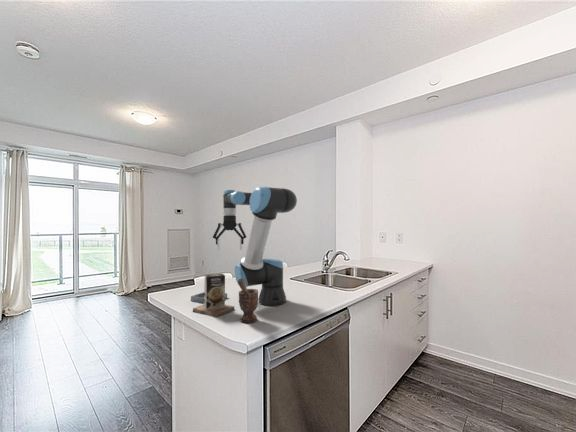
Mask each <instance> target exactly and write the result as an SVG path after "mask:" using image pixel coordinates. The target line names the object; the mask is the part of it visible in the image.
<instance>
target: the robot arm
mask: <svg viewBox="0 0 576 432" xmlns="http://www.w3.org/2000/svg"><path fill="white" fill-rule="evenodd" d="M222 197H223V199H222V200H223V213H222V214H223V221H222V223H221V222H218V223H217V227H216V229H215V232H214V234H213V235H212V238H213V239H215V245H217V251H220V250H221V247H220V246H221V240H220V237H221V236H222V235H223V234H224V232H225V231H234V232H235V233H236V235H237V236H238V237H239V238H240V239H239V251H242V250H243V245H244V239H246V238H247V235H246V232H245V231H244V229H243V227H242V223H241V222H239V223H237V216H236V214H237V205H239V206H249V210H250V211H251V214H252V215H253V221H252V225H251V230H250V233H249V239H248V243H247V247H246V251H245V255H244V257H242V258H241V260H240V263H237V264H235V266H234V277H235V280H236V283H237V285H238V286H239V284H238V280H239V279H241V278H242V279H244V280H245V283H246V288H248V287H252V286H258V285H261V290H260V292H259V294H258V304H260V305H262V306H267V307H268V306H269V307H270V306H271V307H272V306H280V305H284V304H285V303H287V296H286V292H285V290H284V265H283V261H282V260H280V259H275V258H263V255H264V252H265V248H266V246H267V242H268V237H269V234H270V229H271V225H272V222H273V221H274V220H276V218H277V216H278V213H279V214H286V213H289V212H291V211H293V210H294V209H295V207H296V206H297V203H298V199H297V196H296V194H295V192H294V191H292V190H291V189H288V188H284V187H283V188H282V187H281V188H280V187H268V186H259V187H256V188H254V189H253V190H252V192H244V191H243V192H242V191H238V190H237V191H236V190H234V189H224V191H223V195H222ZM222 227H223V228H222ZM236 227H238V228H239V230H240V232H239V230H238V229H237V228H236ZM221 228H222V230H221ZM220 230H221V231H220ZM219 231H220V232H219Z"/></svg>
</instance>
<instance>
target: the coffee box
mask: <svg viewBox="0 0 576 432" xmlns="http://www.w3.org/2000/svg"><path fill="white" fill-rule="evenodd" d="M203 288H204V291H203V292H204V297H203V298H204V303H203V305H204V307H205V309H206V310H213V309H220V308H225V305H226V298H225V293H226V275H225V274H223V273H214V274H213V273H211V274H204V287H203Z"/></svg>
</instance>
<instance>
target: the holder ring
mask: <svg viewBox="0 0 576 432" xmlns="http://www.w3.org/2000/svg"><path fill="white" fill-rule="evenodd" d="M227 298H228V293H226V292H225V299H227ZM190 301H191V302H195V303H199V304H200V303H201V304H204V291H203V292H200V293H197V294H194V295H191V296H190Z"/></svg>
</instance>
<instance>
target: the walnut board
mask: <svg viewBox="0 0 576 432" xmlns="http://www.w3.org/2000/svg"><path fill="white" fill-rule="evenodd" d="M234 310H235V306H234V305H228V304H225V308H220V309H213V310H206V309H205V307H204V304H201V305H198V306H196V307H193V308H192V312H193V313H199V314H202V315H207V316H211V317H216V318H219V317H221V316H223V315H225V314H228V313H229V312H230V313H231V312H232V311H234Z"/></svg>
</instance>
